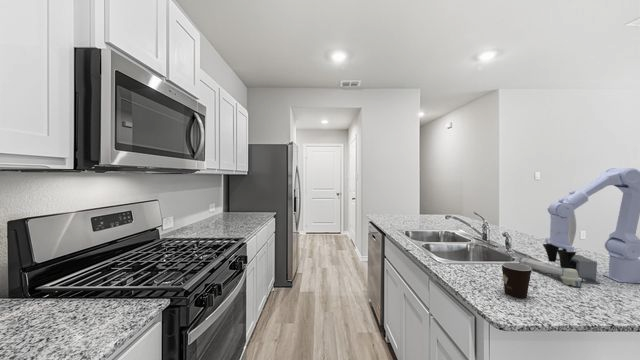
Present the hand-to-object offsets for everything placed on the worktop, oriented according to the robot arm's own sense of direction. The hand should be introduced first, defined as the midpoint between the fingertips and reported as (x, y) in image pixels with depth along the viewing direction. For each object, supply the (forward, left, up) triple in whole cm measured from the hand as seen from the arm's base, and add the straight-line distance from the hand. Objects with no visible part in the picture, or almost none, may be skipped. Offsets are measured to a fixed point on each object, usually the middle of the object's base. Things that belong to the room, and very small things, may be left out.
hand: (558, 264), depth 118 cm
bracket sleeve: (-7, 0, -5) cm, 8 cm away
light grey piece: (+4, 0, -5) cm, 6 cm away
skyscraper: (-17, -23, -5) cm, 29 cm away
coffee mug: (+25, +21, -5) cm, 33 cm away
